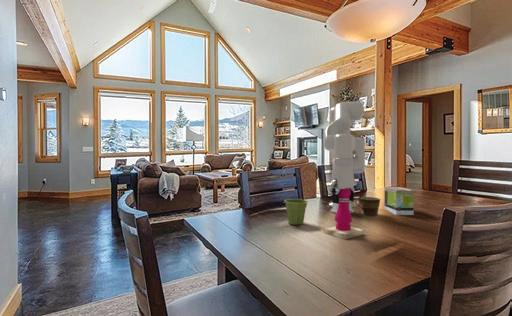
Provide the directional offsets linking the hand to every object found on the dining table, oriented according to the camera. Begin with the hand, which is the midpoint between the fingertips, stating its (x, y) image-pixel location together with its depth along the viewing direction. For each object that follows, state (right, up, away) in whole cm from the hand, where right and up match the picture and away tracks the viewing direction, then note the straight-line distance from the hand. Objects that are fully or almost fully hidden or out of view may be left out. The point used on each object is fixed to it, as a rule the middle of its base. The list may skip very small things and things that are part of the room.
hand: (343, 201), depth 123 cm
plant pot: (-18, -14, +18) cm, 29 cm away
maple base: (0, -14, 0) cm, 14 cm away
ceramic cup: (+23, -13, +32) cm, 42 cm away
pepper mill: (0, -12, 0) cm, 12 cm away
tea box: (+43, -13, +38) cm, 59 cm away
